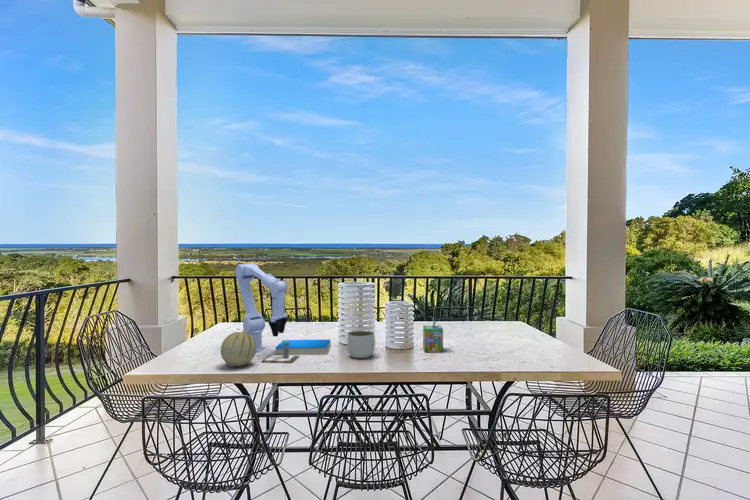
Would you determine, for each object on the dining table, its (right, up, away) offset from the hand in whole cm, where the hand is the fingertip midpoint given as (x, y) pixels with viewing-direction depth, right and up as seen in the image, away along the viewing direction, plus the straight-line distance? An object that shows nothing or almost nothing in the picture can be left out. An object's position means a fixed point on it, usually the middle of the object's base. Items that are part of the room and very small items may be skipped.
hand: (278, 334), depth 183 cm
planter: (+40, -10, -4) cm, 41 cm away
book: (+11, -10, +8) cm, 17 cm away
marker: (+6, -9, -9) cm, 14 cm away
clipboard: (+3, -10, -8) cm, 13 cm away
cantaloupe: (-13, -10, -17) cm, 24 cm away
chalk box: (+75, -9, +6) cm, 76 cm away
